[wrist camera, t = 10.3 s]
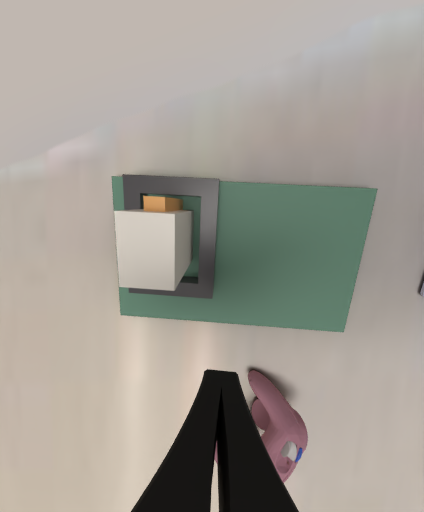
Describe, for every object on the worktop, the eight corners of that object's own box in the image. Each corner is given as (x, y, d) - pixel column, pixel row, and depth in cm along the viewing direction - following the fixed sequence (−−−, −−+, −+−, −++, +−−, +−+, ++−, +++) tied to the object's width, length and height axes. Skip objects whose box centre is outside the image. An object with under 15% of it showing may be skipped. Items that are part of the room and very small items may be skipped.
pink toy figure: (227, 424, 25) (257, 511, 19) (196, 426, 22) (219, 526, 17) (278, 368, 22) (329, 447, 17) (249, 364, 20) (298, 455, 14)
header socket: (219, 181, 16) (219, 178, 14) (213, 291, 18) (212, 298, 16) (131, 177, 16) (122, 174, 14) (136, 285, 18) (128, 292, 17)
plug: (194, 200, 16) (175, 196, 10) (192, 259, 17) (174, 290, 11) (156, 198, 16) (112, 193, 10) (157, 257, 17) (119, 286, 11)
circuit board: (368, 189, 16) (377, 188, 15) (337, 325, 19) (343, 332, 18) (118, 177, 17) (111, 176, 16) (125, 309, 20) (120, 315, 19)
